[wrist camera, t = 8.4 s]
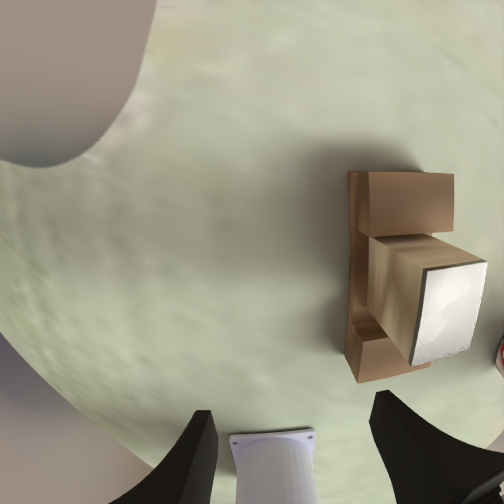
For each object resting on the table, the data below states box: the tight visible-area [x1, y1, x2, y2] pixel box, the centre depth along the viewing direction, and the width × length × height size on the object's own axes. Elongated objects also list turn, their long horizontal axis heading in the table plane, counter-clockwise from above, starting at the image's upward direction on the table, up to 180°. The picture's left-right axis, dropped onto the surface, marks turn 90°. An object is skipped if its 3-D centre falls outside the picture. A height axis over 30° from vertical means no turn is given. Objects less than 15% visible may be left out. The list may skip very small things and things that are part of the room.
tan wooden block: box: [366, 233, 487, 367], centre depth 15 cm, size 5×4×7 cm
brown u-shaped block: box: [345, 171, 454, 384], centre depth 17 cm, size 14×6×4 cm, turn 5°
